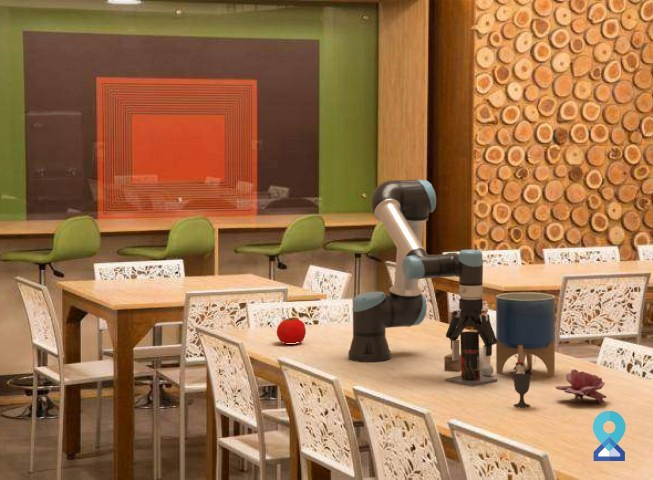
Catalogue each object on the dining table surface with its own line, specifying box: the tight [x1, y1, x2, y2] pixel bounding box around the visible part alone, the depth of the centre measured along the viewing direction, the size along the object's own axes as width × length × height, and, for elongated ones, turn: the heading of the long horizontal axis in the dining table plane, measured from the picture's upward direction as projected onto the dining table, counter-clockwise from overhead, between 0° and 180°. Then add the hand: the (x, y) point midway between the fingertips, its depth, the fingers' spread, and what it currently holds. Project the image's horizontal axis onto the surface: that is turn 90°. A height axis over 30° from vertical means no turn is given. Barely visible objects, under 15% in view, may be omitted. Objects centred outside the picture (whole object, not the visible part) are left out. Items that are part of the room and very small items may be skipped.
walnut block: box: [443, 353, 461, 373], centre depth 425 cm, size 5×5×5 cm
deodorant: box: [459, 330, 481, 380], centre depth 405 cm, size 6×6×15 cm
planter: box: [495, 291, 556, 377], centre depth 414 cm, size 19×19×26 cm
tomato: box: [276, 316, 307, 344], centre depth 479 cm, size 11×13×10 cm
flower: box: [554, 369, 607, 405], centre depth 372 cm, size 15×15×10 cm
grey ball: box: [481, 364, 494, 377], centre depth 413 cm, size 4×4×4 cm
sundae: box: [510, 354, 534, 409], centre depth 368 cm, size 7×7×15 cm
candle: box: [479, 347, 483, 376], centre depth 419 cm, size 7×7×8 cm
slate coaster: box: [444, 375, 498, 387], centre depth 405 cm, size 12×12×1 cm
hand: (471, 362), depth 405 cm, fingers open, 13 cm apart
